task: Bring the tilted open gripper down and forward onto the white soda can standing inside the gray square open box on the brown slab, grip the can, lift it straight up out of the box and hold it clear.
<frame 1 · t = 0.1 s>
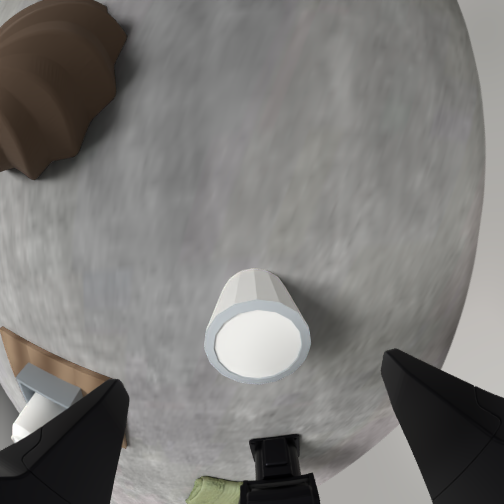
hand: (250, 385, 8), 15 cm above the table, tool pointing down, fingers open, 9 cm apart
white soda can: (62, 392, 28), resting in gray square open box
washcloth: (223, 491, 36), on the table
decorative dome: (45, 85, 17), on the table
brown slab: (61, 393, 27), on the table
gray square open box: (61, 393, 27), resting in brown slab
white tapered cup: (254, 298, 23), on the table
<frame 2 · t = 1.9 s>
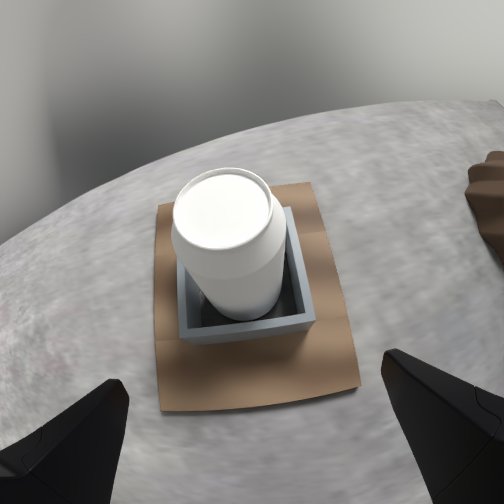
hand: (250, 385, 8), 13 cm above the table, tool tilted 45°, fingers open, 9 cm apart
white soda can: (245, 289, 24), resting in gray square open box
brown slab: (245, 288, 23), on the table
gray square open box: (245, 288, 23), resting in brown slab
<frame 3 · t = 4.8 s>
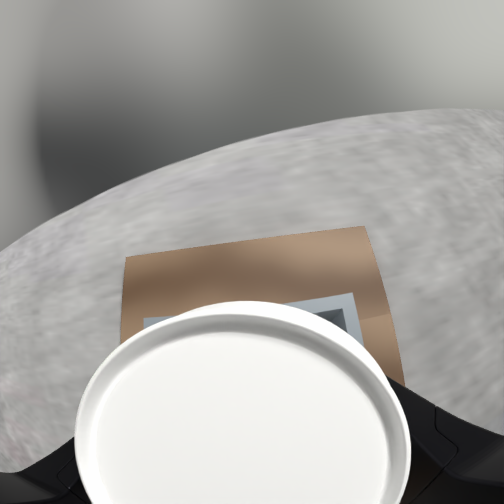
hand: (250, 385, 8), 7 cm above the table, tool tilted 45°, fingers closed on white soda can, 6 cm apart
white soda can: (262, 408, 13), resting in gray square open box, touching gripper
brown slab: (262, 408, 13), on the table
gray square open box: (262, 408, 13), resting in brown slab
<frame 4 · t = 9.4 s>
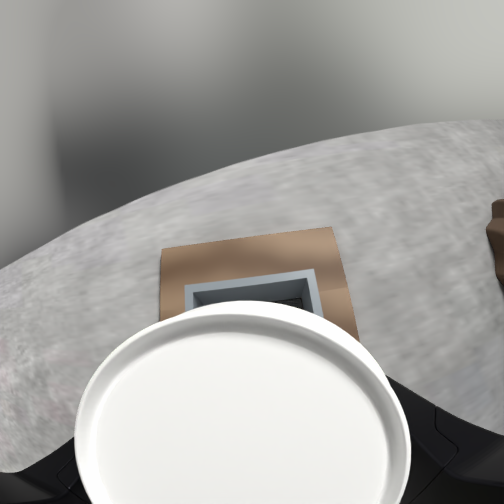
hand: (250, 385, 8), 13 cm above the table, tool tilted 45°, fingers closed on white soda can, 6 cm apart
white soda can: (262, 407, 13), point 7 cm above the table, touching gripper
brown slab: (259, 350, 21), on the table
gray square open box: (259, 350, 21), resting in brown slab
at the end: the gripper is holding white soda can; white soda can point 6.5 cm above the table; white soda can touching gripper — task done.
